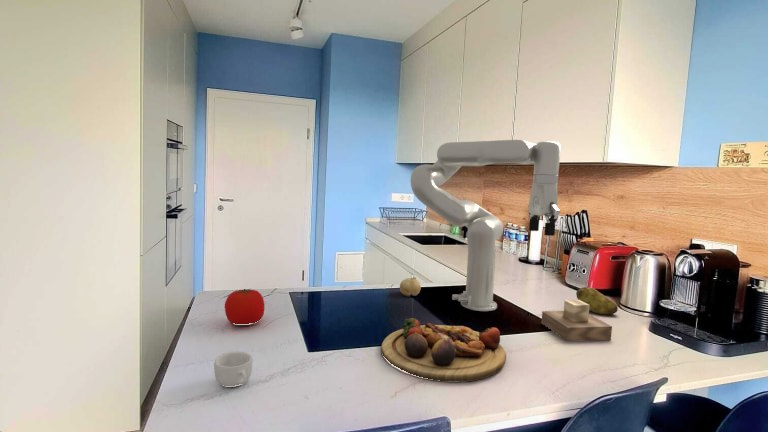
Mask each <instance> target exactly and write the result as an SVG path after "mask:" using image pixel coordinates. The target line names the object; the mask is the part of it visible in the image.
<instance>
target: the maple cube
mask: <svg viewBox="0 0 768 432" xmlns="http://www.w3.org/2000/svg"><path fill="white" fill-rule="evenodd" d="M589 307H590V305H589V304H587V303H585V302H583V301H581V300H578V299H565V300H564V304H563V311H564V313H563V316H564V317H566V318H568V319H569V320H571V321H573V322H577V321H588V318H589V314H590V310H589Z"/></svg>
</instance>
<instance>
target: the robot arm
mask: <svg viewBox="0 0 768 432" xmlns="http://www.w3.org/2000/svg"><path fill="white" fill-rule="evenodd" d="M436 158H437V160H436V161H435V162H434V163H433V164H421V165H418V166H416V167H414V169H413V170H412V172H411V174H410V187H411V191H412V193H413V194H414V196H415V197H416V198H417V200H418V201H420V202H421V204H423V205H425V206H426V207H427V208H429V209H430V210H432V211H433V212H434V213H435V214H437V215H438V216H440V217H441V218H442V219H444V220H445V221H446V222H447V223H449V224H450V225H452V226H454V227H457V228H461V227H465V228H467V231H466V233H467V235H466V236H467V237H466V239H467V260H466V261H467V266H466V281H465V282H466V284H465V290H463V291H462V293H460V294H452V296H451V299H452V300H453V301H458V302H460V305H461V306H462V307H464V308H466V309H468V310H471V311H479V312H489V311H490V312H491V311H495V310H496V309H498V304H497V302H496V301H494V287H495V271H496V241H497V240H498V239H500V238H501V237H502V236H503V234H504V233H503V232H504V225H503V223H502V221H501V219H499V218H498V217H497V216H496V215H494V214H493V213H491V212H490V211H488V210H487V209H485V208H483V207H482V206H480V205H479V204H478V203H476V202H475V201H472V200H470V199H469V200H468V199H458V198H457V197H455V196H453V195H451V194H450V193H449V192H448V191H446V190H444V189H442V188H441V186H442V185H443V184H445V183H446V182H447V181H448V180H449V179H450V178H451V177H452V176H453V175H455V173H457V172H458V171H459V169H461V168H462V167H484V166H486V165H492V164H493V165H495V164H497V165H498V164H518V165H530V164H531V165H532V164H533V178H532V185H531V189H530V194H529V202H528V206H527V207H528V214H529V215H528V218H529V223H528V230H529V232H538V231H539V228H540V219H539V217H544V218H545V224H544V236H553V237H554V236H555V233H556V224H557V220H558V219H559V216H560V211H561V210H560V209H559V208H558V184H559V173H560V172H559V171H560V162H561V161H560V158H561V144H560V143H559V142H557V141H538V142H529V141H526V140H523V139H504V140H503V139H502V140H500V139H499V140H477V141H474V140H473V141H454V142H453V141H452V142H451V141H450V142H445V143H443V144H441V145H440V146H439V147H438V148H437V150H436Z"/></svg>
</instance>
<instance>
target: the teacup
mask: <svg viewBox="0 0 768 432" xmlns="http://www.w3.org/2000/svg"><path fill="white" fill-rule="evenodd" d="M213 365H214V366H213V367H214V376H215V379H216V382H217V383H218V384H219V385H220V384H221V385H224V386H235V385H239V384H243V385H244V384H246V383H247V382H246V381H248V380H249V379H250V377H251V375H252V373H253V372H252V370H253V356H252V355H251V354H250V353H248V352H245V351H238V350H237V351H229V352H225V353H223V354H220V355H218V356H217V357H215V359H214V363H213ZM221 385H220V386H221Z"/></svg>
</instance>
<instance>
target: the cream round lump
mask: <svg viewBox="0 0 768 432" xmlns="http://www.w3.org/2000/svg"><path fill="white" fill-rule="evenodd" d="M421 287H422V286H421V284H420V282H419V280H417V277H416V276H415V277H414V276H412V277H410V278H409V277H408V278H405V279H403V280H402V281H401V282H400V284H399V291H400V293H401V295H403V296H406V297H411V296H413V297H416V296H418V294H420V291H421V289H422V288H421Z"/></svg>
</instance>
